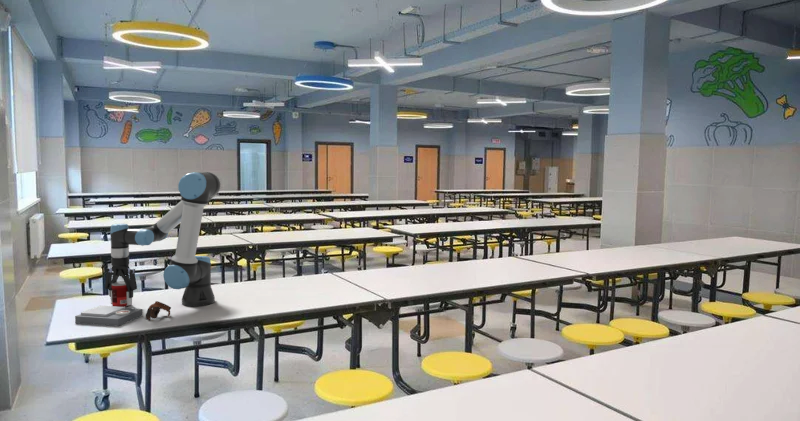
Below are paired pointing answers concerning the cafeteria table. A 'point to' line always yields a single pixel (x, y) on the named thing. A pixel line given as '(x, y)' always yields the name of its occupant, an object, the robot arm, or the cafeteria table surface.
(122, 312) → the dial scale
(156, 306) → the brown arched piece
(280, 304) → the cafeteria table surface
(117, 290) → the canned food
